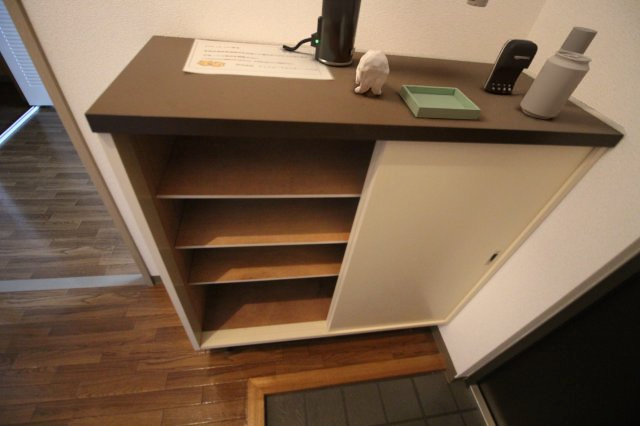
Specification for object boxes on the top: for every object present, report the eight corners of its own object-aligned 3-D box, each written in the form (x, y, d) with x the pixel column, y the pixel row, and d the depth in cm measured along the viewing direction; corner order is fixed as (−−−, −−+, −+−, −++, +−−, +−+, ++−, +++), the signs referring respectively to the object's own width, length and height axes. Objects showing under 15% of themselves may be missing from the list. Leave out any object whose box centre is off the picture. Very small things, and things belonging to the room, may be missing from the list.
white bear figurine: (362, 51, 54) (355, 41, 64) (355, 97, 60) (349, 81, 69) (395, 54, 55) (383, 44, 64) (384, 99, 60) (374, 83, 70)
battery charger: (488, 94, 69) (514, 41, 61) (481, 88, 72) (506, 36, 64) (514, 96, 70) (544, 44, 62) (506, 90, 73) (534, 39, 65)
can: (515, 102, 67) (549, 46, 59) (549, 110, 66) (589, 53, 57) (520, 115, 62) (558, 55, 53) (558, 123, 60) (602, 63, 52)
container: (553, 105, 68) (603, 33, 58) (533, 101, 69) (579, 30, 58) (546, 97, 72) (592, 28, 61) (527, 94, 72) (569, 25, 61)
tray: (416, 117, 56) (419, 107, 55) (399, 94, 64) (401, 84, 63) (476, 119, 58) (481, 109, 57) (452, 96, 66) (456, 87, 64)
